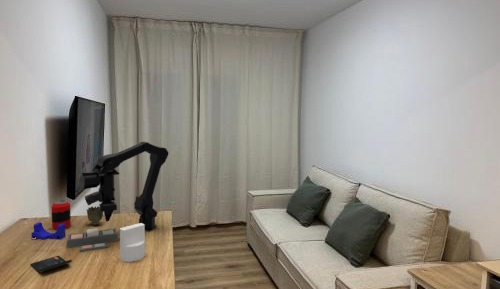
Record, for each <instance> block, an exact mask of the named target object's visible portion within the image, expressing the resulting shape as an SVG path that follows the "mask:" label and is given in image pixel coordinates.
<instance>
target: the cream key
mask: <svg viewBox="0 0 500 289" xmlns="http://www.w3.org/2000/svg"><path fill="white" fill-rule="evenodd" d="M86 232H87V237H91V236H99V228H92V229H87V230H86Z"/></svg>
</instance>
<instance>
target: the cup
mask: <svg viewBox="0 0 500 289" xmlns="http://www.w3.org/2000/svg"><path fill="white" fill-rule="evenodd" d="M86 213H87V219H88V221H89V222H91V225H92V226H99V225H100V223H101V222H100V221H101V220H103V217H104V211H103V212H101V211H100V206H98V205H97V206H94V207H93V206H90V207H88V208H87V209H86Z"/></svg>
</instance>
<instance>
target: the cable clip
mask: <svg viewBox="0 0 500 289" xmlns="http://www.w3.org/2000/svg"><path fill="white" fill-rule="evenodd" d="M35 237H36V239H35V240H37V239H41V240H40V241H46V240H48V239H49V240H62V239H65V237H66V229H65V224H60V225H58V226H57V230H55V232H49V231H48V230H46V229H45V228H44V226H43V222H42V221H41V222H40V221H39V222H36V223H35V224H33V231H32V232H31V239H32V238H35Z"/></svg>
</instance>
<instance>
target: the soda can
mask: <svg viewBox="0 0 500 289" xmlns="http://www.w3.org/2000/svg"><path fill="white" fill-rule="evenodd" d="M50 208H51V229H53V230H55V231H56V230H57V226H58V225H60V224H65V230H67V229H69V228H70V227H71V226H72V222H71V220H72V218H71V217H72V216H71V203H70V202H69V201H68V200H57V201H54V202H53V204H52V205H51V207H50Z"/></svg>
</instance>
